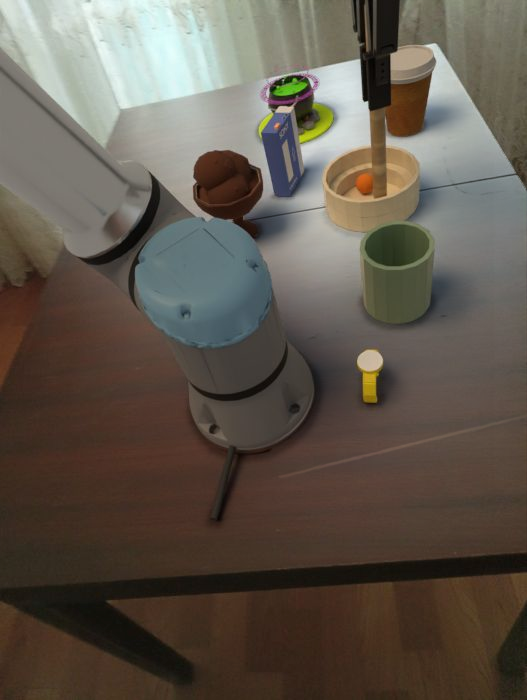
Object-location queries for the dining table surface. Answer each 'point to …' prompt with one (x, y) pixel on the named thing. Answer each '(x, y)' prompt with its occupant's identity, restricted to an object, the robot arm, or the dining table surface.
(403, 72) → the disposable coffee cup
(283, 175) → the walkman
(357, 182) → the ball
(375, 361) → the watch
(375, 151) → the stick
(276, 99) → the toy cauldron
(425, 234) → the crock
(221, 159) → the ice cream bowl
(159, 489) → the dining table surface
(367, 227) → the mixing bowl
